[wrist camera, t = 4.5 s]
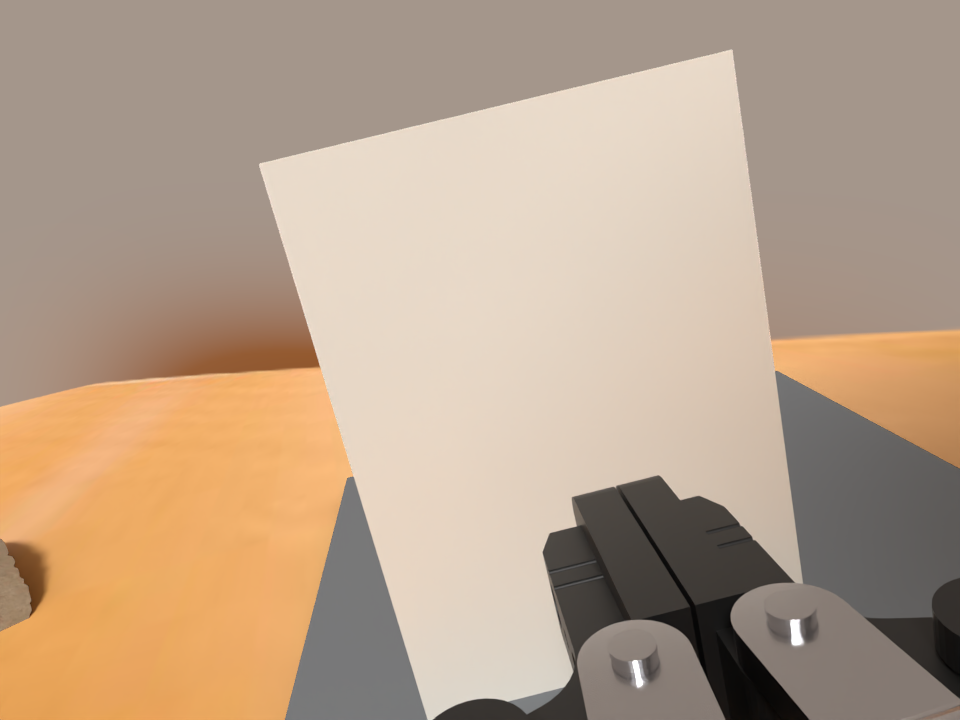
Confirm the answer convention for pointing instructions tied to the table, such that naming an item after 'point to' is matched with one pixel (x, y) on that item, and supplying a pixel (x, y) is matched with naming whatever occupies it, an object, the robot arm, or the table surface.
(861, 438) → the mat
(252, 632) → the table surface
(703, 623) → the robot arm
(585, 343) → the tile
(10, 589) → the clay tablet
